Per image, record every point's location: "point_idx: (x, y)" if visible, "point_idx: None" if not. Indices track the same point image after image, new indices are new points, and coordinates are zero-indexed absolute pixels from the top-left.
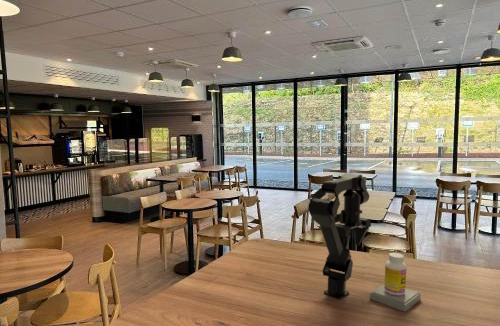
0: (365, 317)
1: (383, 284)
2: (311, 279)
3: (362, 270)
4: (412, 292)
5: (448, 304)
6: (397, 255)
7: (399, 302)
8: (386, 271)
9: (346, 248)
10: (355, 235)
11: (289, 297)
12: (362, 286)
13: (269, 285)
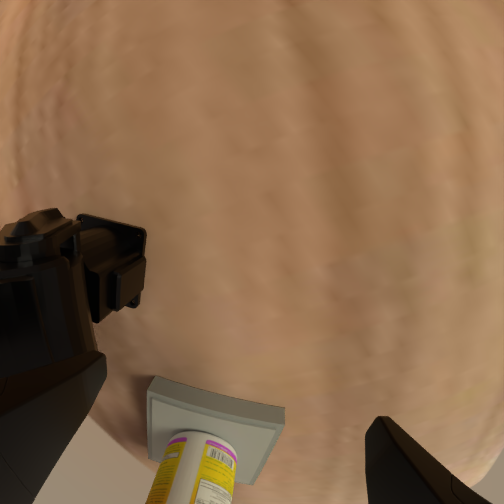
0: None
1: (252, 420)
2: (174, 93)
3: (434, 282)
4: (236, 477)
5: (265, 498)
6: None
7: (151, 451)
8: (154, 492)
9: (86, 405)
10: (426, 495)
11: (15, 134)
12: (244, 336)
13: (56, 29)
